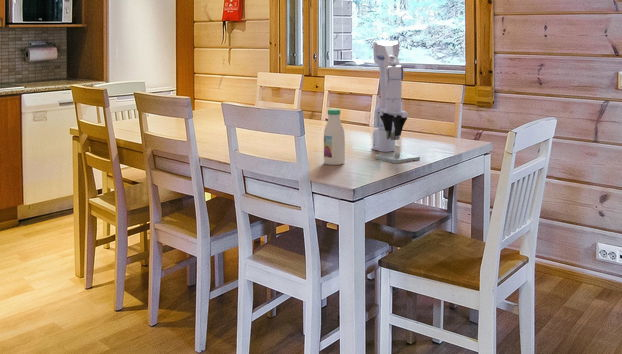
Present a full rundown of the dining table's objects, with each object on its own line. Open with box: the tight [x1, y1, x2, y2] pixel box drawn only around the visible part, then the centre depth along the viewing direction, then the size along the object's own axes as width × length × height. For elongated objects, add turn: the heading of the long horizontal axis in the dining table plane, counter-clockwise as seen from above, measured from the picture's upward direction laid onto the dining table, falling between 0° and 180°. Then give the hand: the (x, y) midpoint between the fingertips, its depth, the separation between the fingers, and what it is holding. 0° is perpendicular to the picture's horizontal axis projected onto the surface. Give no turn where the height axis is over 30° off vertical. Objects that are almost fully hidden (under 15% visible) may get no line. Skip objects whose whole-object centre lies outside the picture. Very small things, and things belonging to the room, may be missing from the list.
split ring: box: [385, 130, 401, 141], centre depth 243 cm, size 5×5×3 cm
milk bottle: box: [323, 108, 346, 166], centre depth 237 cm, size 8×8×20 cm
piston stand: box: [374, 144, 421, 164], centre depth 244 cm, size 12×12×5 cm
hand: (393, 134), depth 243 cm, fingers closed on split ring, 5 cm apart
